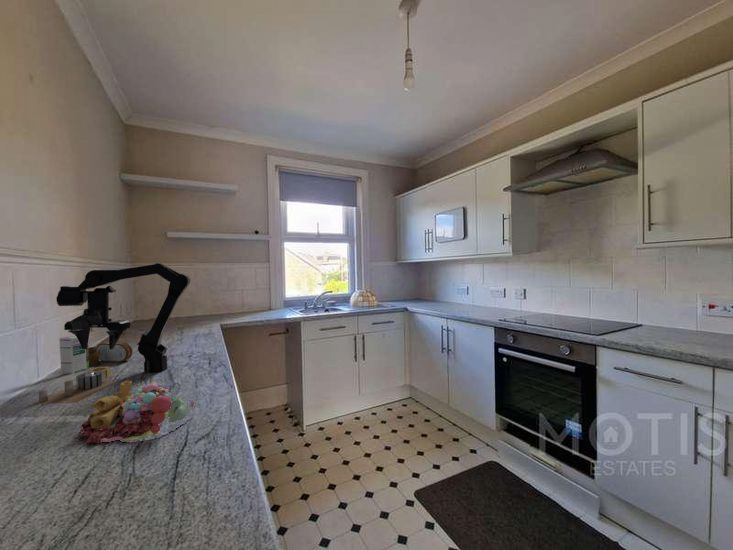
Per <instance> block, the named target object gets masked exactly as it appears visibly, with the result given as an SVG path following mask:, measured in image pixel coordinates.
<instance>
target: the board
mask: <svg viewBox="0 0 733 550" xmlns="http://www.w3.org/2000/svg"><path fill="white" fill-rule="evenodd" d="M63 383H64V389H63V390H61V391H59V392H57V393H53V394H52V395H50V396H48V390H47V389H44V390H40V391H38V400H37V401H35V402H33V404H34V405H36V404H60V403H61V404H63V403H64V404H65V403H66V404H67V403H79V402H80V401H82V400H84V399H87V398H88V397H90V396H92V395H95V394H96V393H99V392H100V391H103V390H104V389H107V388H109V387H111V386H113V385H114V384H116V383H118V381H102V385H101V386H100V387H97V388H94V389H90V390H77V384H74V383H73V380H66V381H64V382H63Z"/></svg>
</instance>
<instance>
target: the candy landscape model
mask: <svg viewBox="0 0 733 550" xmlns="http://www.w3.org/2000/svg"><path fill="white" fill-rule="evenodd" d="M132 383H133V381H131V380H124V381H122V382H120V383H119V392H117V391H115V392H113V393H112V395H107V396H105V397H104V396H103V397H102V398H101V397H100V398H99V399H97V400H96V402H94V403H93V404H92V405H91V406H92V407H93V408H94V409H95V410H94V411H93V412H91V413H90V415H89V416H88V418H87V420H85V422H83V423H82V424H81V429H79V430H78V435H79V437H78V439H77V441H80V440H83V439H84V438H87V437H88V438H87V440H86V441H85V443H86V444H100V443H102V442H110V441H113V440H118V439H119V440H122V441H133V440H137V439H144V438H148V436H150V435H151V437H155V436H156V434H158V433H160V428H161V427H160V425H158V424H161V423H162V422H163V421H164V420H165V419H167V418H168V417H170V418H169V420H168V421H169V422H174V421H177V420H178V421H179V420H181V419H183V418H184V417H185V416H187V415H188V413H189V412H190V411H191V409H190V408H189V404H191V407H193V406H195V402H194V399H193V400H192V401H191V402H190V403H189V401H187V400H186V399H183V398H182V397H177V398H175V395H174V394H173V393H170V392H169V389H168V387H167V386H166V385H164V387H163V382H160V383H157V382H156V381H151V382H150V383H148V384H147V382H145V384H144V385H142V386H139V387H138V388H137V389H136V390H135V392H133V393H131V389H132ZM170 407H171V408H170ZM168 410H169V411H168ZM152 433H153V434H152ZM143 437H144V438H143ZM85 443H84V444H85ZM110 443H111V442H110Z"/></svg>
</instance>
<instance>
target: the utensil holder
mask: <svg viewBox="0 0 733 550" xmlns="http://www.w3.org/2000/svg"><path fill="white" fill-rule="evenodd" d="M93 341H94V342H93ZM93 343H94V344H93ZM96 343H97V342H96V340H95V339H94V338H91V340H88V356H89V368H91V367H95V366H97V365H98V366H99V364H100V360H99V354H98V352H97V346H96ZM91 344H93V347H92V346H91ZM90 346H91V347H90Z"/></svg>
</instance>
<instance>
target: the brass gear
mask: <svg viewBox="0 0 733 550" xmlns="http://www.w3.org/2000/svg"><path fill="white" fill-rule="evenodd" d="M95 371H99V372H100V371H101V372H102V380H104V379H106V378H107V379H108V378H110V377H111V376H112V374H111V373H112V372H111V371H112V368H111V366H100V367H99V366H98V367H94V368H89V369H87V372H86V373H89V372H95Z"/></svg>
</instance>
